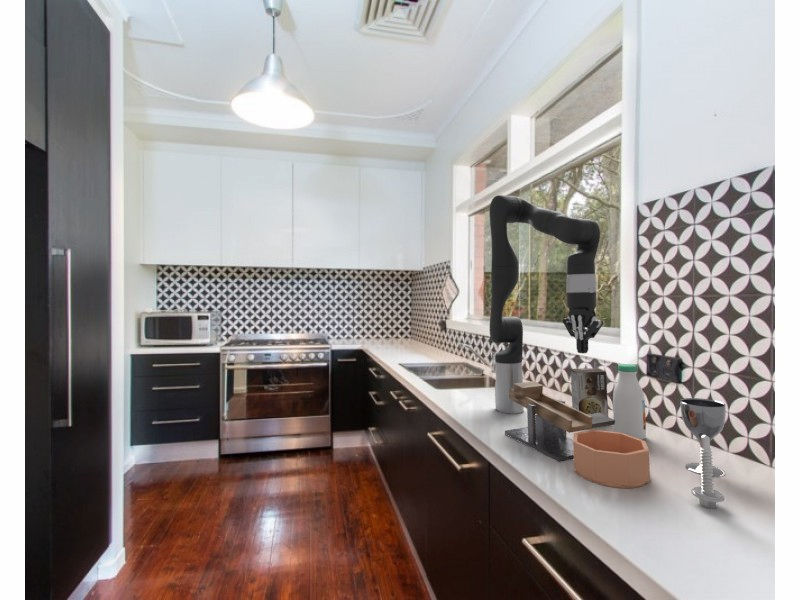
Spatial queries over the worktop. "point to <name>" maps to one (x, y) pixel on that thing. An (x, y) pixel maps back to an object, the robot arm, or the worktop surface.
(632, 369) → the milk bottle
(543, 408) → the seesaw lever
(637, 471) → the bowl
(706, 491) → the screw
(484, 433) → the worktop surface
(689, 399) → the wine glass
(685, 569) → the worktop surface
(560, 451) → the lever stand
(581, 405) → the coffee box
